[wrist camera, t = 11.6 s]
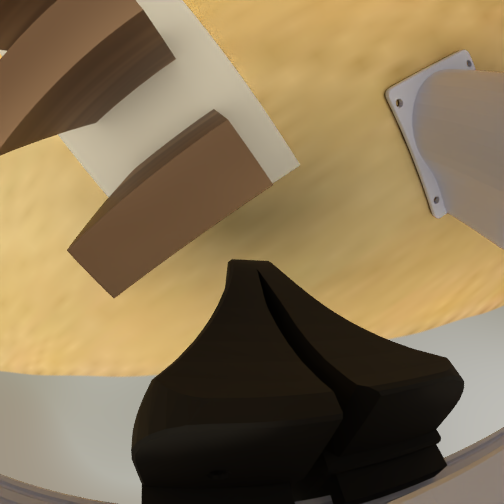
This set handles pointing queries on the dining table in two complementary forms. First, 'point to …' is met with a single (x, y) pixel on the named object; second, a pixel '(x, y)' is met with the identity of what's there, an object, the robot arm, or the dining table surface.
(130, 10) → the brown wooden block
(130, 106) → the mat
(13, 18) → the brown wooden block
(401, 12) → the dining table surface
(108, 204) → the tile
